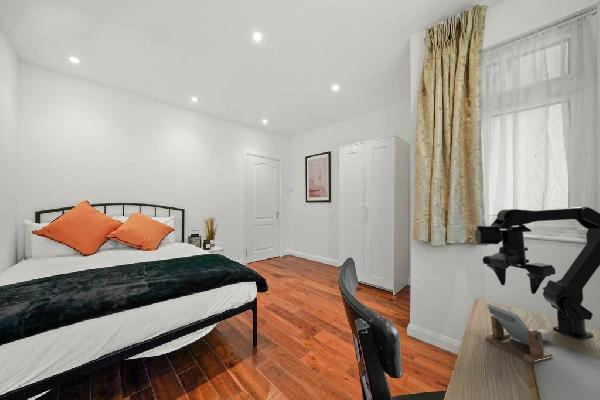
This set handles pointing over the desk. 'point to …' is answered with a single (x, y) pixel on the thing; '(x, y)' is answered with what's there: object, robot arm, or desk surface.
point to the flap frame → (534, 345)
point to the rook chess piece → (544, 334)
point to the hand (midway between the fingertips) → (517, 289)
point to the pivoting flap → (511, 324)
